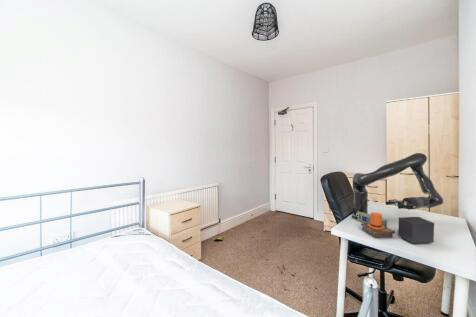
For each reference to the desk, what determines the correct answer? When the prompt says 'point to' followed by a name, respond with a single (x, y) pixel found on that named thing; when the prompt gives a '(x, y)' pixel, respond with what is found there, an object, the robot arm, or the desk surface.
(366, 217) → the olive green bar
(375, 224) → the hat
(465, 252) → the desk surface
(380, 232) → the stand
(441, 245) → the desk surface
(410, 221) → the dark grey cube pedestal
